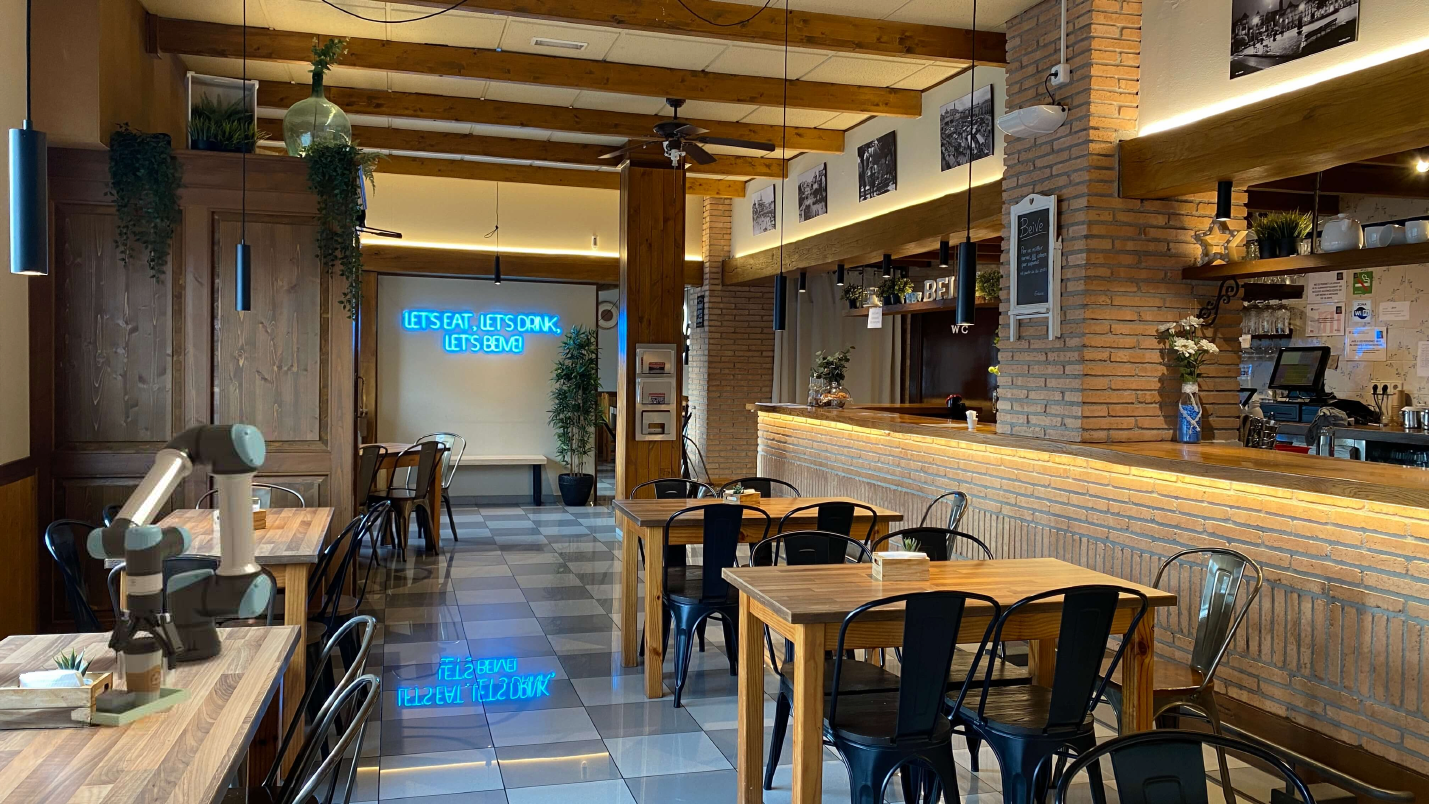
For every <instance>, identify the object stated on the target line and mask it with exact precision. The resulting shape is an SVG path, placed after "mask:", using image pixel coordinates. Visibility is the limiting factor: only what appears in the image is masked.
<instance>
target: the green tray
mask: <svg viewBox="0 0 1429 804" xmlns="http://www.w3.org/2000/svg"><path fill="white" fill-rule="evenodd" d="M188 700H191V689H190V688H183V687H174V686H173V687H172V686H166V685H160V696H159V700H157V701H154V702H151V703H149V704H146V705H143V706H141V707H135V709H133V710H130V711H128V712H125V713H122V714H120V715H118V714H110V713H102V712H92V713H91V715H92V716H91V718H92V720H91V723H90V724H94V725H95V724H97V725H105V726H111V727H112V726H113V727H119V728H120V727H122V726H124V725H127V724H129V723H132V722H135V721H137V720H139V719H143V718H145V717H147V716H150V715H152V714H155V713H158V712H160V711H162V710H165V709H168V708H171V707H173V706H175V705H178V704H180V703H183V702H185V701H188Z"/></svg>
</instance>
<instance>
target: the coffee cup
mask: <svg viewBox="0 0 1429 804" xmlns="http://www.w3.org/2000/svg"><path fill="white" fill-rule="evenodd" d="M123 653H124V662H125V676H126V678H125V685H126V690H127V691H135V707H141V706H143V705H146V704H149V703H151V702H154V701H157V700H159V696H160V686H161V683H162V682H161V679H162V649H161V647H160V646H159V644H158V643H157V641H156V640H155V638H154V637H153V635H152V636H151V635H150V636H149V635H148V636H140V637H134V638H133V639H130V640H127V641H126V642H125V646H124V647H123Z"/></svg>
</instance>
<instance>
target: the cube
mask: <svg viewBox="0 0 1429 804" xmlns="http://www.w3.org/2000/svg"><path fill="white" fill-rule="evenodd" d="M97 695H98V696H97V697H95V702H96V712H102V713H110V714H118V715H120V714H122V713H125V712H128V711H130V710H133V709H135V691H127V689H117V688H114V689H111V690H108V691H106V692H103V693H100V694H97Z"/></svg>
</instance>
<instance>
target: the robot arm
mask: <svg viewBox="0 0 1429 804" xmlns="http://www.w3.org/2000/svg"><path fill="white" fill-rule="evenodd" d="M266 449H267V448H266V443H265V440H264V437H263V434H262V432H260V430H259V429H258V428H257V427H256V426H254V425H251V424H241V423H233V424H232V423H230V424H229V423H228V424H225V423H224V424H207V423H206V424H204V423H203V424H196V425H192V426H190V427H188V428H185V429H183V430H182V431H181V432H179V433H177V434H175V435H174V436H173V437H171V438H170V439H169V440H168V441H167V442H166V443H165V444H163V446H162V447H161V448H160V449H159V451H158V452H157V453H156V456H155V463H154V464H153V466H152V467H151V469H150V470H149V471H148V473H147V474H146V475H145V476H144V478H143V479H142V481H141V482H140V484H139V485H138V486H137V488H136V489H135V491H134V492H133V493H132V494H131V496H130V497H129V498H128V499H127V501H126V502H125V504H124V506H122V508H121V509H120V510H119V512H118V513H117V515H116V516H115V518H114V519H113V520H112V521H111V523H110V524H109V525H108V527H105V526H104V527H103V526H102V527H98V528H95V529H93V530H92V531H91V532H90V533H89V534H88V537H87V541H86V542H87V543H86V547H87V548H86V549H87V551H88V553H89V554H90V556H91V557H92V558H95V559H99V560H100V559H101V560H102V559H103V560H125V586H126V587H125V590H126V591H125V592H127V594H126V597H125V599H126V600H125V603H126V605H125V606H126V609H123V610H120V611H118V612H117V620H116V623H115V625H114V629H113V631H112V634H111V637H110V639H109V642H108V644H107V648H108V649H110V650H111V649H112V650H113V651H114V652H115V664H116V666H117V680H118V681H121V680H126V676H125V662H124V653H123V647H124V646H125V642H126V641H127V640H130V639H133V638H135V636H136V635H137V634H138V632H144V633H148V634H149V635H150V636H151V635H152V636H153V637H154V638H155V640H156V641H157V643H158V644H159V646H160V647H161V649H162V658H161V660H162V686H167V685H170V684H173V683H175V682H176V669H177V668H178V667H177V666H178V665H177V662H188V661H189V662H190V661H197V660H203V659H207V658H211V657H214V656H217V655H219V654H220V653H222V649H223V648H222V647H223V645H222V641H221V639H220V637H219V634H218V630H217V628H216V625H215V618H233V619H234V618H239V619H244V618H255V617H258V616H259V615H261V614H262V612H263V611H264V610H265V608H266V606H267V604H268V602H269V600H270V599H269V598H270V595H271V586H272V585H271V581H270V578H269V577H268V575H265V574H262V566H261V565H259V564H258V563H257V562H256V559H255V558H256V557H255V556H256V555H255V554H256V553H255V532H254V531H255V529H254V527H255V526H254V525H255V524H254V506H253V482H252V481H253V479H252V478H253V477H254V476H255V475H256V474H257V473H258V467H260V466H262V465H263V464H264V462H265V457H266V454H267V453H266ZM200 467H204V468H205V467H210V472H211V473H210V474H211V476H213V477H214V478H215V479H216V480H217V493H218V494H217V495H218V520H219V545H220V546H219V547H220V566H219V567H218V568H217V569H216V570H215V572H214V570H213V569H211V568H205V569H203V568H202V569H197V570H191V571H186V572H182V573H179V574H175V575H172V576H171V577H170V578H168V580H167V584H166V585H167V587H166V603H167V605H166V607H167V608H166V609H167V612H166V613H161V608H162V606H164V598H163V597H164V596H163V591H162V589H163V587H164V586H163V583H164V582H163V562H164V561H168V560H171V559H173V558H174V559H175V558H177V557H180V556H181V555H184V554H185V553H188V552H187V551H189V549H190V548H191V546H192V535H191V533H190V531H189V530H188V529H187V528H185V527H184V526H180V525H174V526H172V525H170V526H167V527H162V528H161V527H160V526H159V525H157V524H151V523H152V521H153V520H154V519H155V517H156V515H157V514H158V513H159V511H160V510H161V508H163V506H164V504H165V503H166V501H168V499H169V497H170V496H171V494H172V493H173V492H174V490H175V488H176V487H177V486H178V484H179V483H180V482H181V480H182V479H183V478H185V477H186V476H189V475H190V474H191V473H192V472H193V470H194V469H196V468H197V469H198V468H200Z"/></svg>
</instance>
